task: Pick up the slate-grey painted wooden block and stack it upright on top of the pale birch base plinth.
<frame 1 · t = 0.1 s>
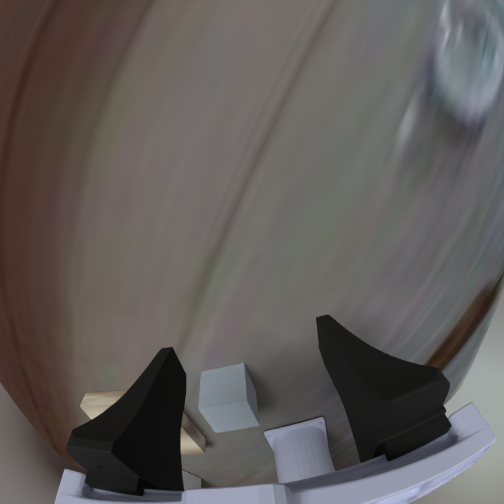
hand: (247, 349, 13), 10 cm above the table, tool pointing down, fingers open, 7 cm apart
birch base: (145, 419, 29), on the table
skincare box: (181, 473, 36), on the table
slate block: (229, 381, 27), on the table
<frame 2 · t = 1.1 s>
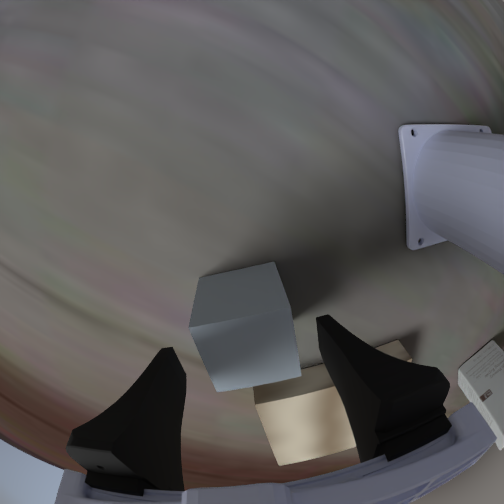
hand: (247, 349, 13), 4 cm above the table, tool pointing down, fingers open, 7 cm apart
birch base: (331, 404, 22), on the table
skincare box: (473, 362, 23), on the table
slate block: (244, 301, 17), on the table
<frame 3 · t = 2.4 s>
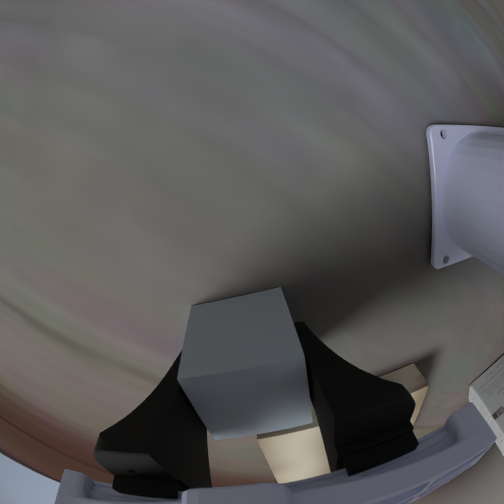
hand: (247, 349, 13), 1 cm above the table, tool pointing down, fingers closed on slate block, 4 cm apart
birch base: (338, 430, 19), on the table
skincare box: (484, 376, 21), on the table
slate block: (245, 332, 14), on the table, touching gripper
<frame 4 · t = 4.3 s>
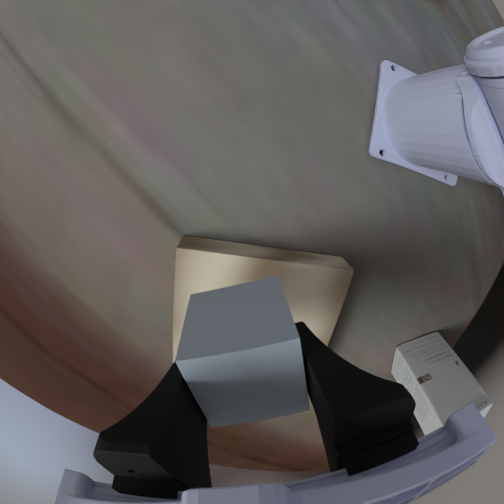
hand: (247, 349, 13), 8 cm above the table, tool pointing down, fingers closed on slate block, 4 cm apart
birch base: (252, 316, 22), on the table
skincare box: (412, 351, 26), on the table
slate block: (243, 321, 15), point 7 cm above the table, touching gripper
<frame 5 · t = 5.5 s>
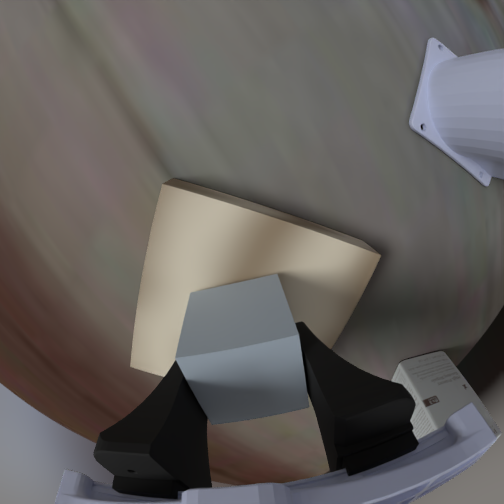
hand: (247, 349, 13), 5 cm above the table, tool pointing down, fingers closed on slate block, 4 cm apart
birch base: (242, 299, 18), on the table
skincare box: (413, 370, 22), on the table
slate block: (243, 319, 15), point 3 cm above the table, touching gripper
when the fingers open (5 cm above the table, at t = 6.3 s): slate block stays where it is, resting on birch base.
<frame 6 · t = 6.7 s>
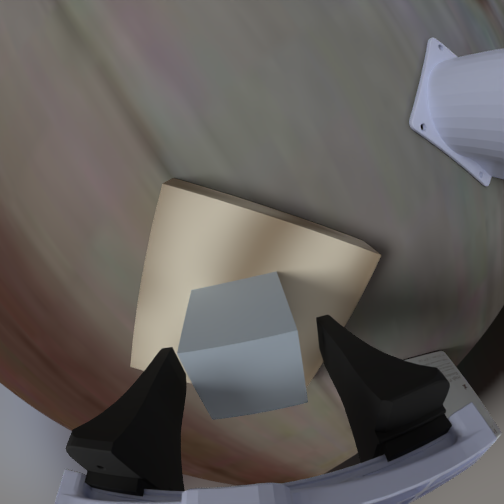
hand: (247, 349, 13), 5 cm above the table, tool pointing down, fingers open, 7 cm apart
birch base: (242, 299, 18), on the table
skincare box: (413, 370, 22), on the table
slate block: (243, 316, 15), point 2 cm above the table, touching birch base
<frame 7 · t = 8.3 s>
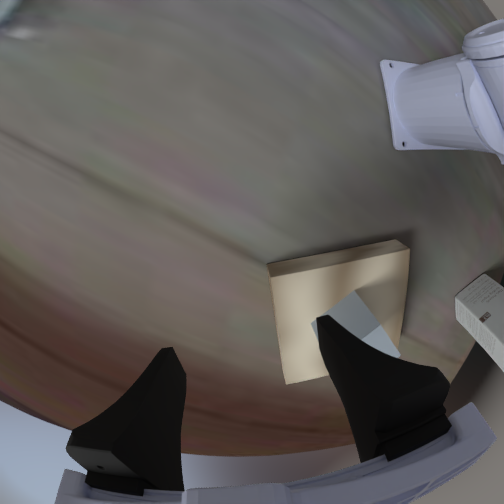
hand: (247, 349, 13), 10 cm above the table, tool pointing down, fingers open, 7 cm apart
birch base: (337, 309, 25), on the table
skincare box: (468, 296, 27), on the table
slate block: (345, 322, 23), point 2 cm above the table, touching birch base
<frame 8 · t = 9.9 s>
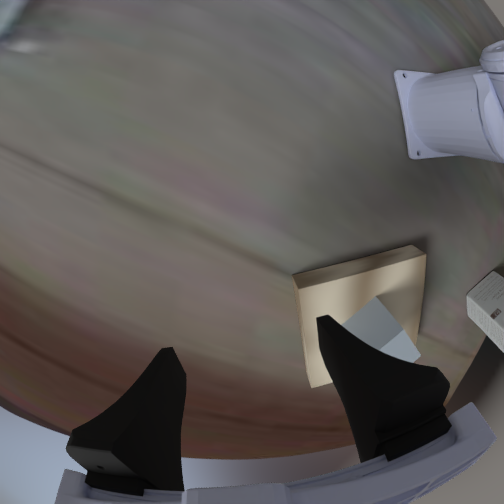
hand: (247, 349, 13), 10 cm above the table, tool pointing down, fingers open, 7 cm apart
birch base: (358, 314, 26), on the table
skincare box: (478, 293, 27), on the table
slate block: (367, 326, 23), point 2 cm above the table, touching birch base
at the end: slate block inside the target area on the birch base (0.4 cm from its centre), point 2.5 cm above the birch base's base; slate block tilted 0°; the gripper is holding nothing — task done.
